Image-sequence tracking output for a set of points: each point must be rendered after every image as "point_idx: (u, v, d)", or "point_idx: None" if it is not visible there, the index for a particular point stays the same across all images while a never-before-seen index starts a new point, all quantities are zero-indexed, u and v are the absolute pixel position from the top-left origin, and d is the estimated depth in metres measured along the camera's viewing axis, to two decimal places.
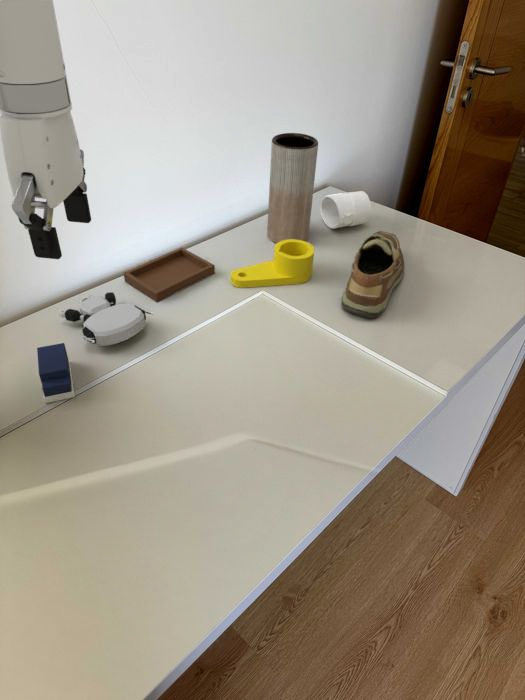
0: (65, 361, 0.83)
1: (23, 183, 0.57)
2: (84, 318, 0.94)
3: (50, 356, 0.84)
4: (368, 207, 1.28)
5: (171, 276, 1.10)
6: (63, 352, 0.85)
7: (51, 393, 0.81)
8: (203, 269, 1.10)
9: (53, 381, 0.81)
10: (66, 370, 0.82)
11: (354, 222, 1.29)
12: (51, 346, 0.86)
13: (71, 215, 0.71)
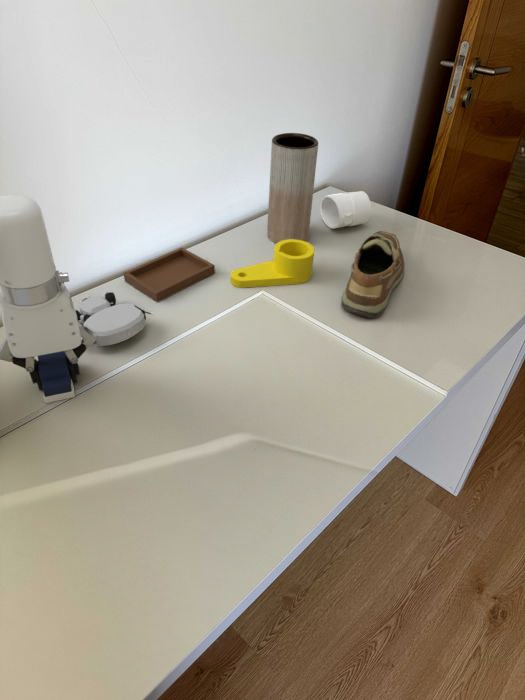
0: (65, 361, 0.83)
1: (5, 339, 0.78)
2: (84, 318, 0.94)
3: (50, 356, 0.84)
4: (368, 207, 1.28)
5: (171, 276, 1.10)
6: (63, 352, 0.85)
7: (51, 393, 0.81)
8: (203, 269, 1.10)
9: (53, 381, 0.81)
10: (66, 370, 0.82)
11: (354, 222, 1.29)
12: None
13: None
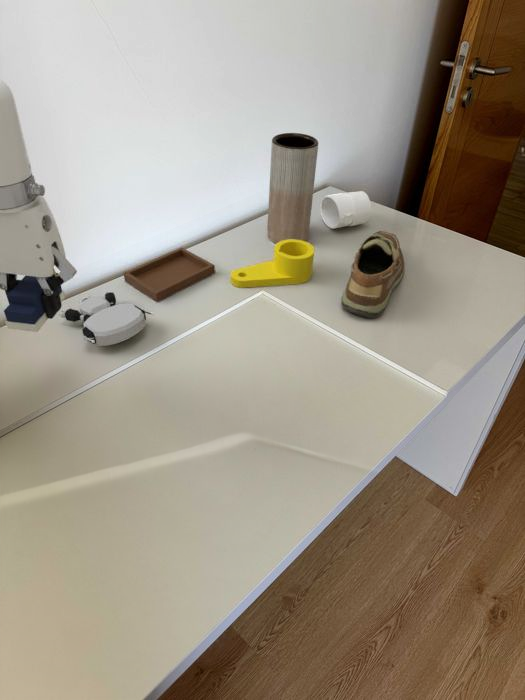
0: (41, 290, 0.73)
1: None
2: (84, 318, 0.94)
3: (33, 281, 0.75)
4: (368, 207, 1.28)
5: (171, 276, 1.10)
6: None
7: (13, 319, 0.72)
8: (203, 269, 1.10)
9: (19, 307, 0.72)
10: (34, 299, 0.72)
11: (354, 222, 1.29)
12: None
13: None
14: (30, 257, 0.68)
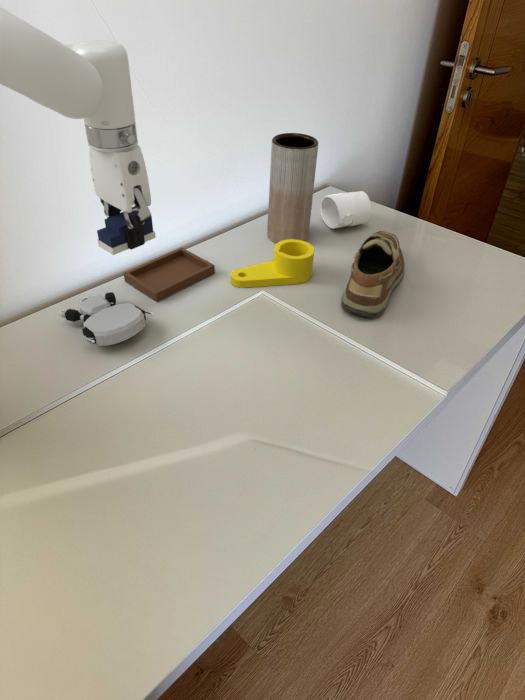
0: None
1: None
2: (84, 318, 0.94)
3: None
4: (368, 207, 1.28)
5: (171, 276, 1.10)
6: None
7: (101, 239, 0.90)
8: (203, 269, 1.10)
9: (108, 231, 0.89)
10: (118, 228, 0.88)
11: (354, 222, 1.29)
12: None
13: None
14: (117, 192, 0.83)
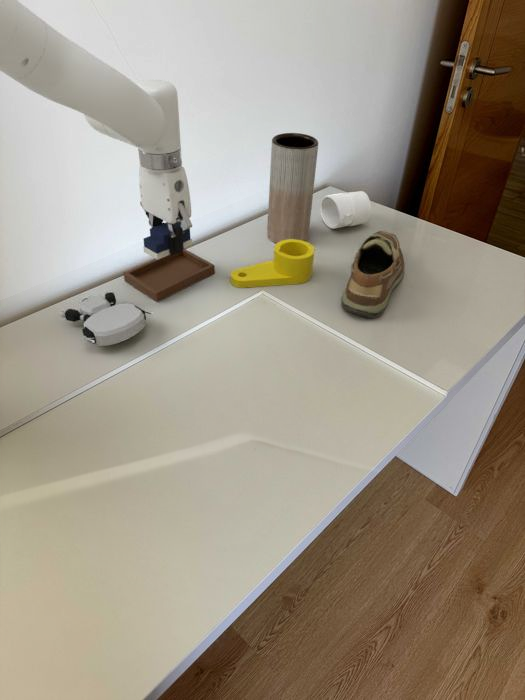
0: None
1: None
2: (84, 318, 0.94)
3: None
4: (368, 207, 1.28)
5: (171, 276, 1.10)
6: None
7: (147, 246, 1.04)
8: (203, 269, 1.10)
9: (153, 239, 1.03)
10: (162, 237, 1.02)
11: (354, 222, 1.29)
12: None
13: None
14: (163, 206, 0.97)
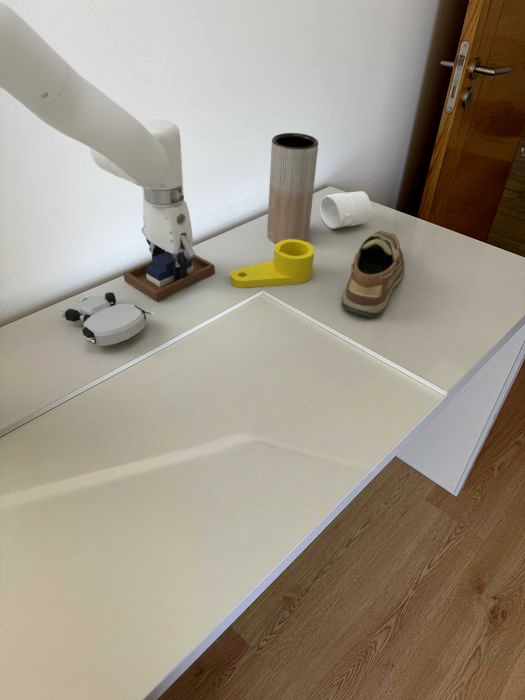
0: (172, 261, 1.07)
1: None
2: (84, 318, 0.94)
3: None
4: (368, 207, 1.28)
5: None
6: (180, 256, 1.08)
7: (150, 274, 1.08)
8: (203, 269, 1.10)
9: (156, 267, 1.07)
10: (164, 265, 1.06)
11: (354, 222, 1.29)
12: None
13: None
14: (166, 238, 1.01)
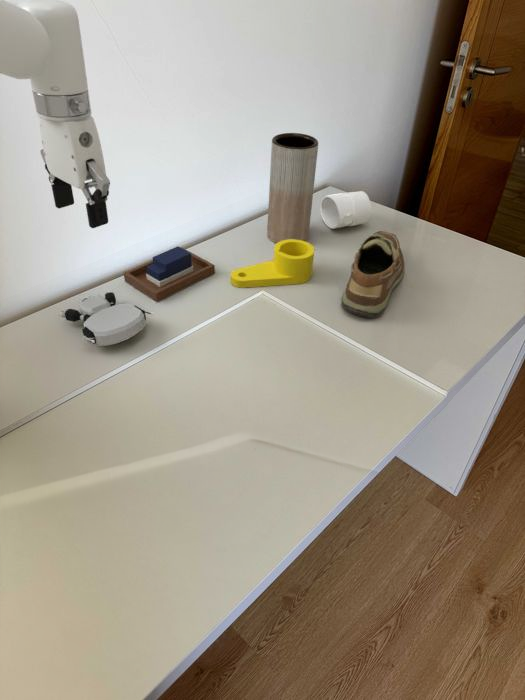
0: (172, 261, 1.07)
1: None
2: (84, 318, 0.94)
3: (172, 254, 1.09)
4: (368, 207, 1.28)
5: None
6: (180, 256, 1.08)
7: (150, 274, 1.08)
8: (203, 269, 1.10)
9: (156, 267, 1.07)
10: (164, 265, 1.06)
11: (354, 222, 1.29)
12: (183, 250, 1.10)
13: None
14: (68, 166, 0.78)
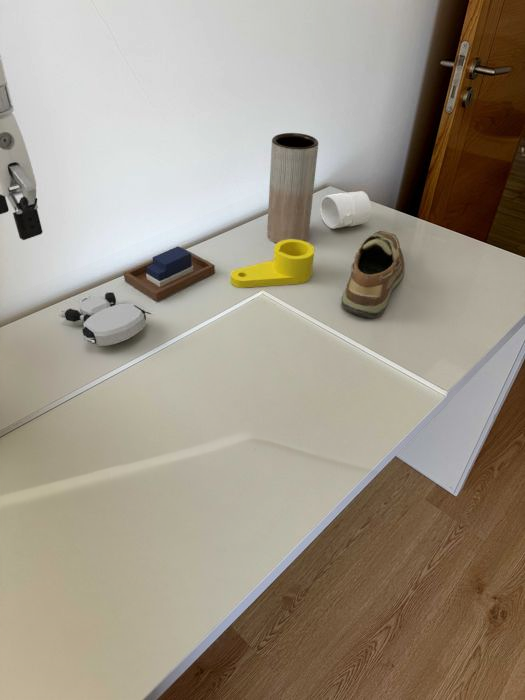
0: (172, 261, 1.07)
1: None
2: (84, 318, 0.94)
3: (172, 254, 1.09)
4: (368, 207, 1.28)
5: None
6: (180, 256, 1.08)
7: (150, 274, 1.08)
8: (203, 269, 1.10)
9: (156, 267, 1.07)
10: (164, 265, 1.06)
11: (354, 222, 1.29)
12: (183, 250, 1.10)
13: None
14: None
